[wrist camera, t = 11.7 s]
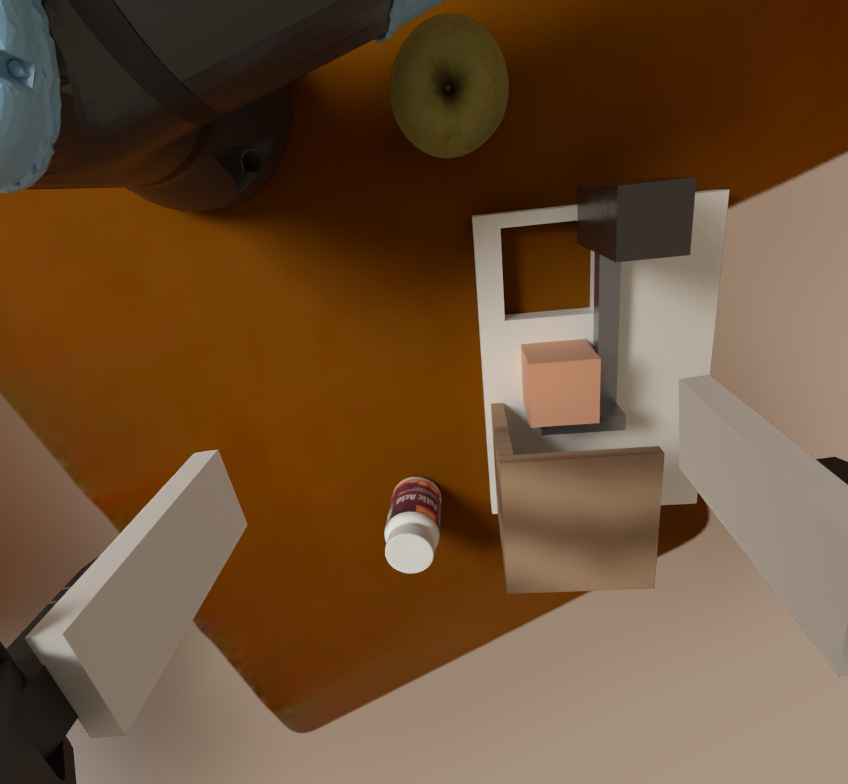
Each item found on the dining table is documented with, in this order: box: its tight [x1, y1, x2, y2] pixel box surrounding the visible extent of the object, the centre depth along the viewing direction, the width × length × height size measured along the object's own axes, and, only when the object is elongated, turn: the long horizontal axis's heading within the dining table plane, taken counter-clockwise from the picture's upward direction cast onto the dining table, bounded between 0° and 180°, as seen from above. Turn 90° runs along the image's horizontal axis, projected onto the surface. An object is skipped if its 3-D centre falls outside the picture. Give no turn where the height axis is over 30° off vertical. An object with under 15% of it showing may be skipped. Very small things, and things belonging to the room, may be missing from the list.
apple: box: [390, 13, 509, 158], centre depth 34 cm, size 8×8×7 cm
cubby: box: [491, 403, 665, 594], centre depth 40 cm, size 11×10×10 cm
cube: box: [521, 339, 601, 428], centre depth 40 cm, size 5×5×5 cm
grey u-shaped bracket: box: [539, 177, 696, 436], centre depth 35 cm, size 18×8×10 cm, turn 6°
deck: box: [472, 190, 729, 514], centre depth 43 cm, size 26×18×2 cm
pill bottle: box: [384, 477, 442, 573], centre depth 46 cm, size 5×5×8 cm
